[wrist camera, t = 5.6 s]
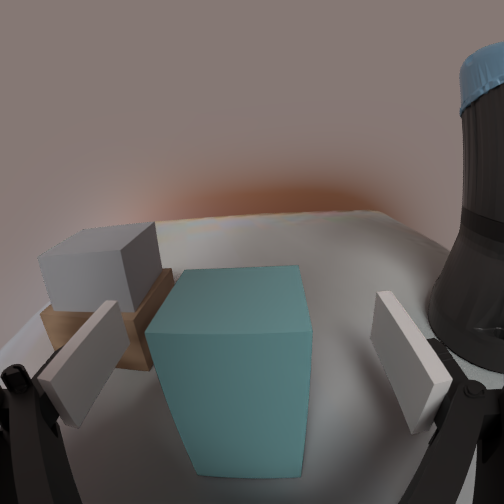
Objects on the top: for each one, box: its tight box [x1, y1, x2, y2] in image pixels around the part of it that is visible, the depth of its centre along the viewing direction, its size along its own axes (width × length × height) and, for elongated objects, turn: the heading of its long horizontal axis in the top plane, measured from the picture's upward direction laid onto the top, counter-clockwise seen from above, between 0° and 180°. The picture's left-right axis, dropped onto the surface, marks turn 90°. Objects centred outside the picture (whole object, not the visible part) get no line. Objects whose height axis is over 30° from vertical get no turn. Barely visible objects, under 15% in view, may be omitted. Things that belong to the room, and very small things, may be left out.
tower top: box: [38, 222, 162, 312], centre depth 22 cm, size 8×8×4 cm
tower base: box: [40, 268, 174, 371], centre depth 24 cm, size 9×9×4 cm
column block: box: [144, 265, 313, 478], centre depth 12 cm, size 5×5×9 cm
